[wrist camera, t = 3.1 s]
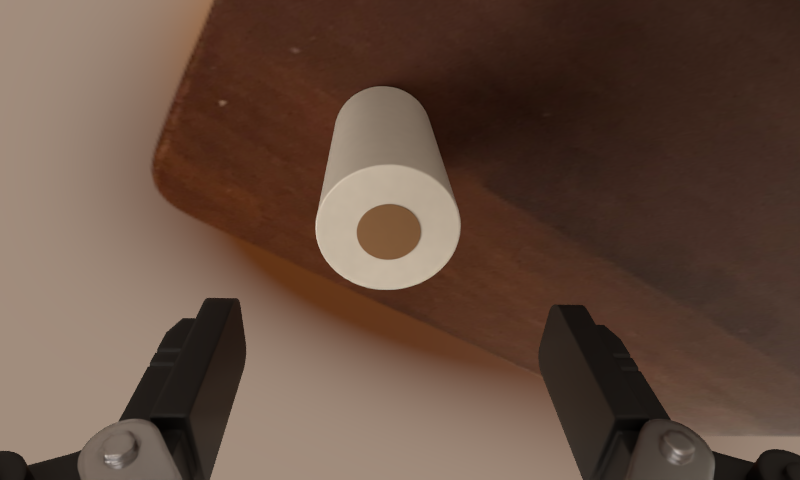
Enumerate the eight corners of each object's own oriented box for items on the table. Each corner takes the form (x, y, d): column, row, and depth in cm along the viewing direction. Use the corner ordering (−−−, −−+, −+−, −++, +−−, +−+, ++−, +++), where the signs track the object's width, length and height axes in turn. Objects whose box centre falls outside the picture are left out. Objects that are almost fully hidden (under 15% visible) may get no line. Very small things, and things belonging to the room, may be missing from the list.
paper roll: (333, 83, 24) (312, 162, 15) (435, 88, 24) (470, 167, 16) (335, 177, 26) (317, 290, 18) (426, 180, 27) (452, 292, 18)
